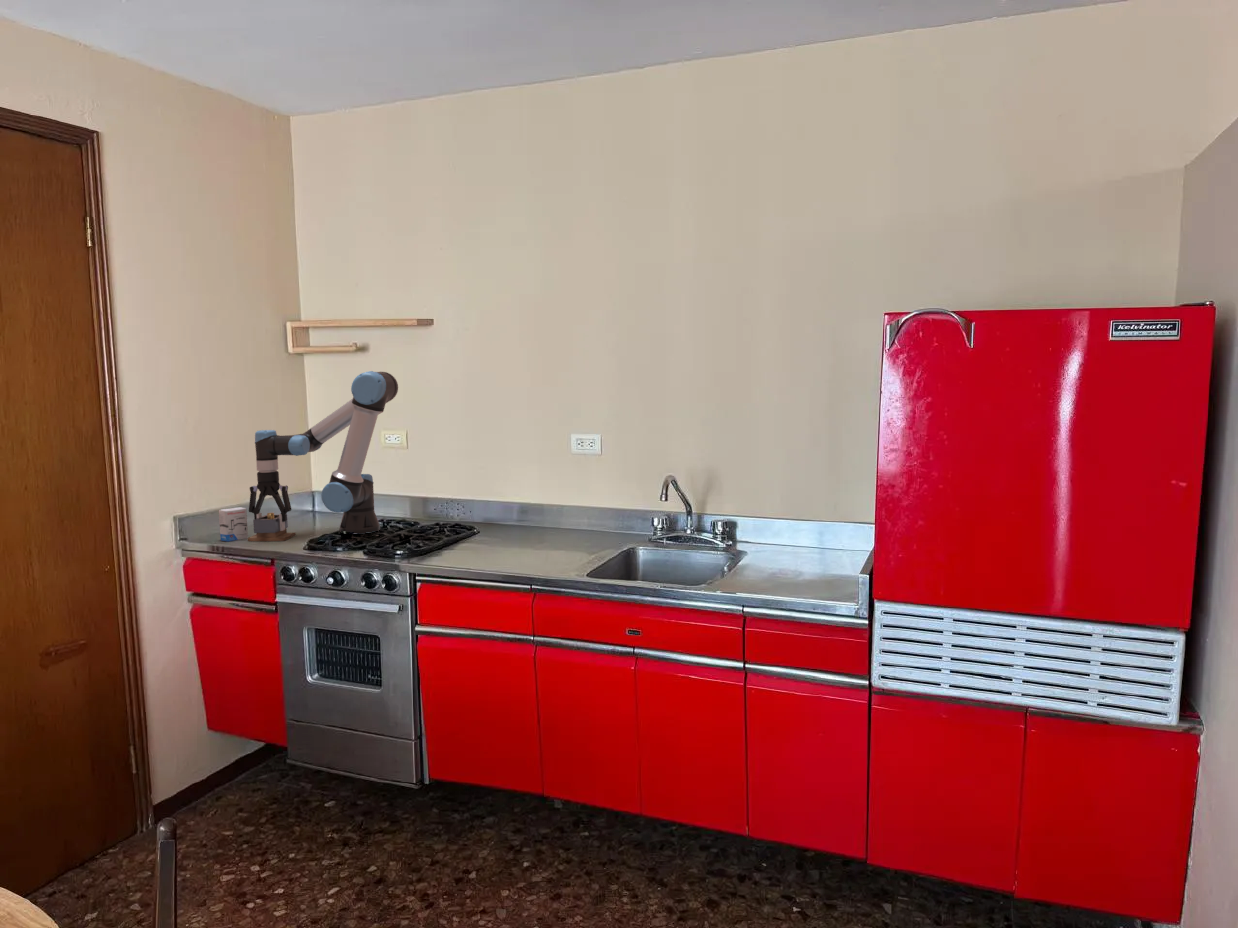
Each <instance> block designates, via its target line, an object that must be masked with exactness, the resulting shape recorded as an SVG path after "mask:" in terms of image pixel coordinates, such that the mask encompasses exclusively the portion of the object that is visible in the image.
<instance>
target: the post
mask: <svg viewBox="0 0 1238 928" xmlns="http://www.w3.org/2000/svg"><path fill="white" fill-rule="evenodd" d="M266 515H267V519H274V515H275V512H267V513H266Z"/></svg>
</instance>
